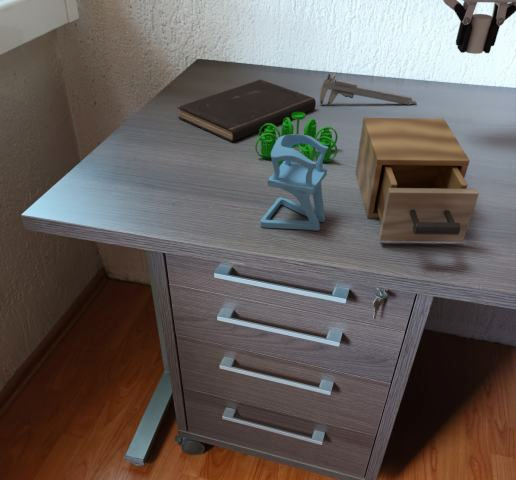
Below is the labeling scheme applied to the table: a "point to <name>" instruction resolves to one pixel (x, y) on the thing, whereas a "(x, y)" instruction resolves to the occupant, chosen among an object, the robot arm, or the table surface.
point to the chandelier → (287, 129)
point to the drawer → (424, 203)
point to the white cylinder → (478, 33)
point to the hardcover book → (245, 109)
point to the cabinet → (403, 150)
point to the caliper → (358, 92)
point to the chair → (297, 182)
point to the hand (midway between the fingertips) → (473, 49)
